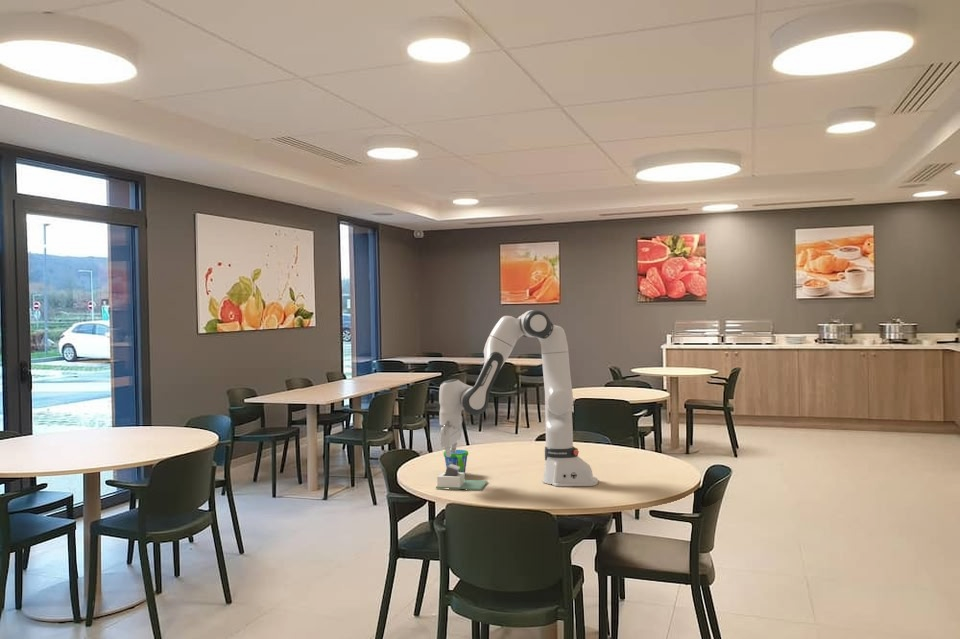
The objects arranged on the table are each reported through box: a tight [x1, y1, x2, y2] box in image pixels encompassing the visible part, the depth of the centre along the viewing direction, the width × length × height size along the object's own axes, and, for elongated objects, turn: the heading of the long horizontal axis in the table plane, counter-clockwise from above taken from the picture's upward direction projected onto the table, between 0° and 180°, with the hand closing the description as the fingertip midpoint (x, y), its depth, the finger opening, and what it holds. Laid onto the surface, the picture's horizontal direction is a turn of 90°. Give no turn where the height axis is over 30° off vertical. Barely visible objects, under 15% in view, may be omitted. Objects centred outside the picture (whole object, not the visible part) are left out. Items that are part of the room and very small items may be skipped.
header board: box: [435, 471, 488, 492], centre depth 273 cm, size 18×14×5 cm
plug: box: [445, 464, 460, 476], centre depth 272 cm, size 5×4×7 cm
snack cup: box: [443, 449, 469, 474], centre depth 293 cm, size 16×10×10 cm
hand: (451, 454), depth 272 cm, fingers open, 7 cm apart
